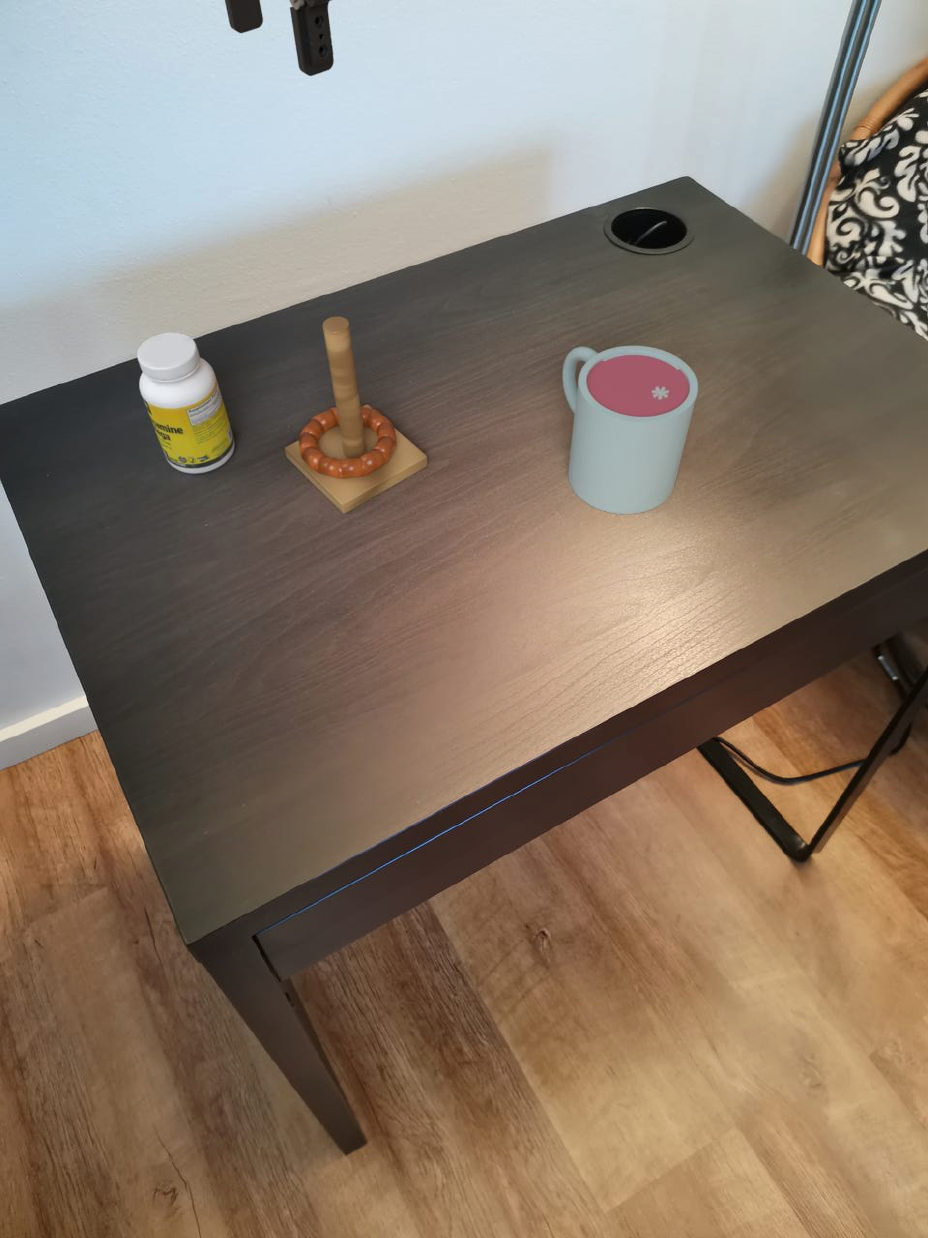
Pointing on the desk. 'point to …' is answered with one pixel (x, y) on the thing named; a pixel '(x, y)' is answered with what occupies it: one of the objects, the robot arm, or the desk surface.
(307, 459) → the ring
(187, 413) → the pill bottle
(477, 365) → the desk surface
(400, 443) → the stand
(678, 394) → the mug
